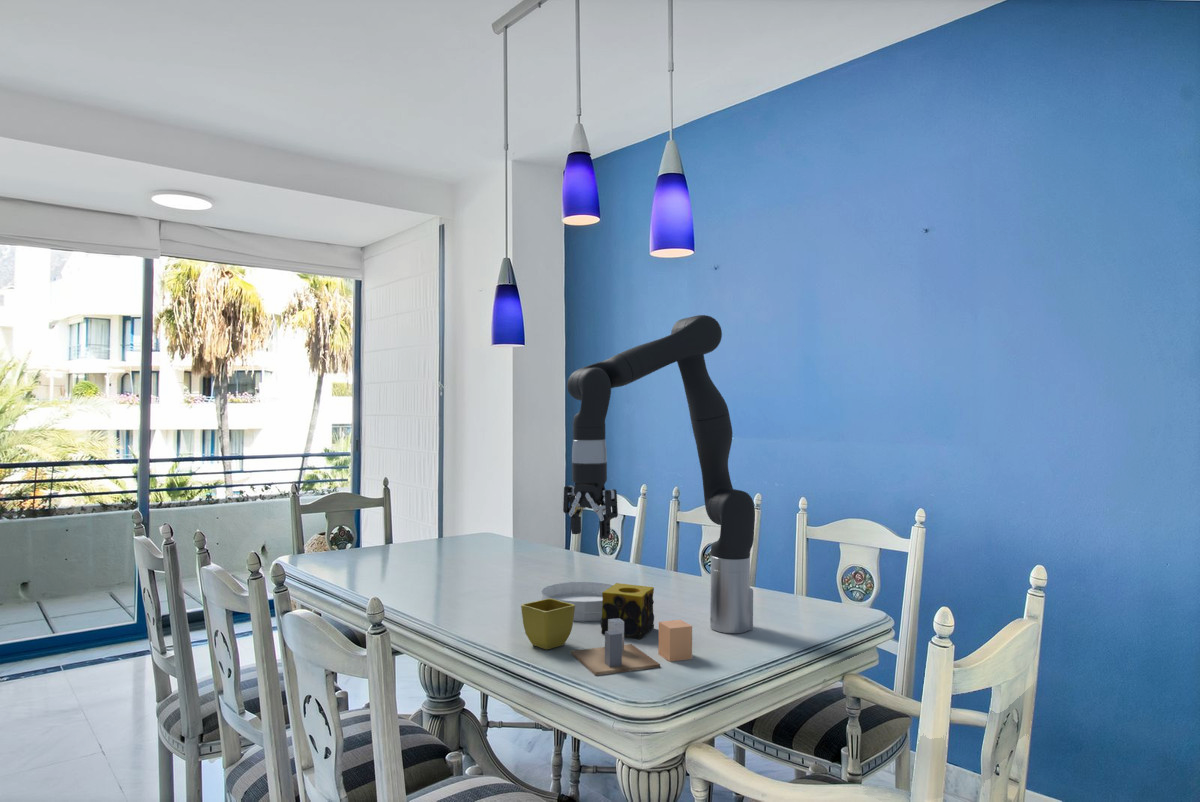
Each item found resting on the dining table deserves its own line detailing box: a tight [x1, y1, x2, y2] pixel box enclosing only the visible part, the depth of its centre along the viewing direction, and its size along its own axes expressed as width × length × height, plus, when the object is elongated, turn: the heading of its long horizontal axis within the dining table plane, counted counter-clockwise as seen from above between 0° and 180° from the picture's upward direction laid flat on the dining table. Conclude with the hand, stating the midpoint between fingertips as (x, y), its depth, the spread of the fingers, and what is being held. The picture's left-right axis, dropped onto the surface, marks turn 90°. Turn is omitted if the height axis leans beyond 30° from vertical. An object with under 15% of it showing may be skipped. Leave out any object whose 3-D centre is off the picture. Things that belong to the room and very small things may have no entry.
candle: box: [600, 582, 655, 640], centre depth 175 cm, size 10×10×10 cm
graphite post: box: [604, 630, 622, 667], centre depth 149 cm, size 3×3×6 cm
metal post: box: [608, 618, 625, 652], centre depth 158 cm, size 3×3×6 cm
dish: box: [540, 581, 614, 622], centre depth 194 cm, size 22×22×5 cm
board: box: [570, 643, 661, 676], centre depth 154 cm, size 14×14×1 cm
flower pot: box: [520, 598, 575, 650], centre depth 163 cm, size 9×9×9 cm
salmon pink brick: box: [657, 619, 693, 663], centre depth 157 cm, size 5×5×7 cm
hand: (590, 535), depth 160 cm, fingers open, 8 cm apart
